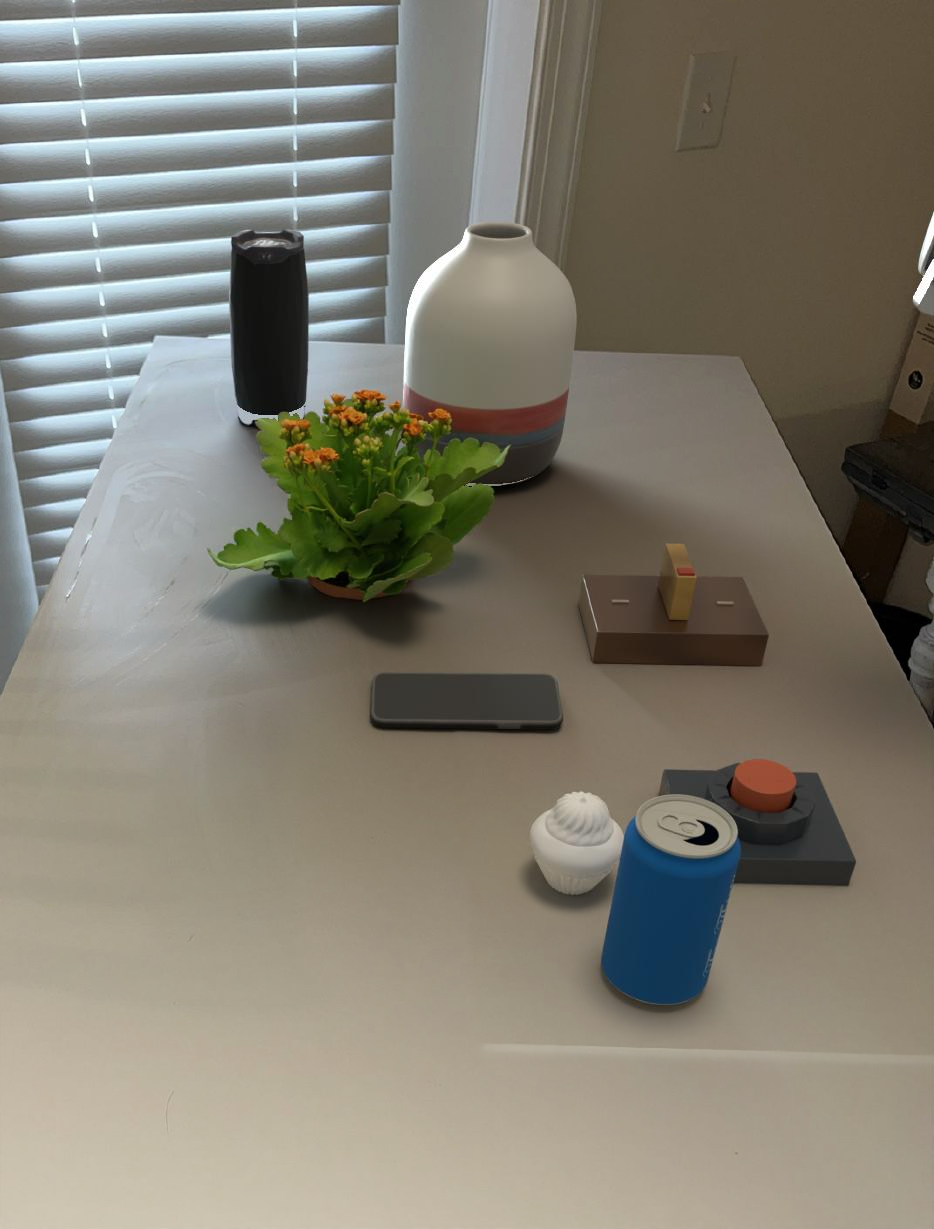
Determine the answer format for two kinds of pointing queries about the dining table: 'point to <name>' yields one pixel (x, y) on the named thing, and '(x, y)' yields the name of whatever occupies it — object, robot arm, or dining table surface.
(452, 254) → the vase
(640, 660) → the plate
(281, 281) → the portable speaker
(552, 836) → the muffin
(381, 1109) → the dining table surface
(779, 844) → the button block
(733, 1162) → the dining table surface
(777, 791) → the button
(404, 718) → the smartphone
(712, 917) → the beverage can
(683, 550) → the yellow red-marked block
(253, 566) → the potted flower
